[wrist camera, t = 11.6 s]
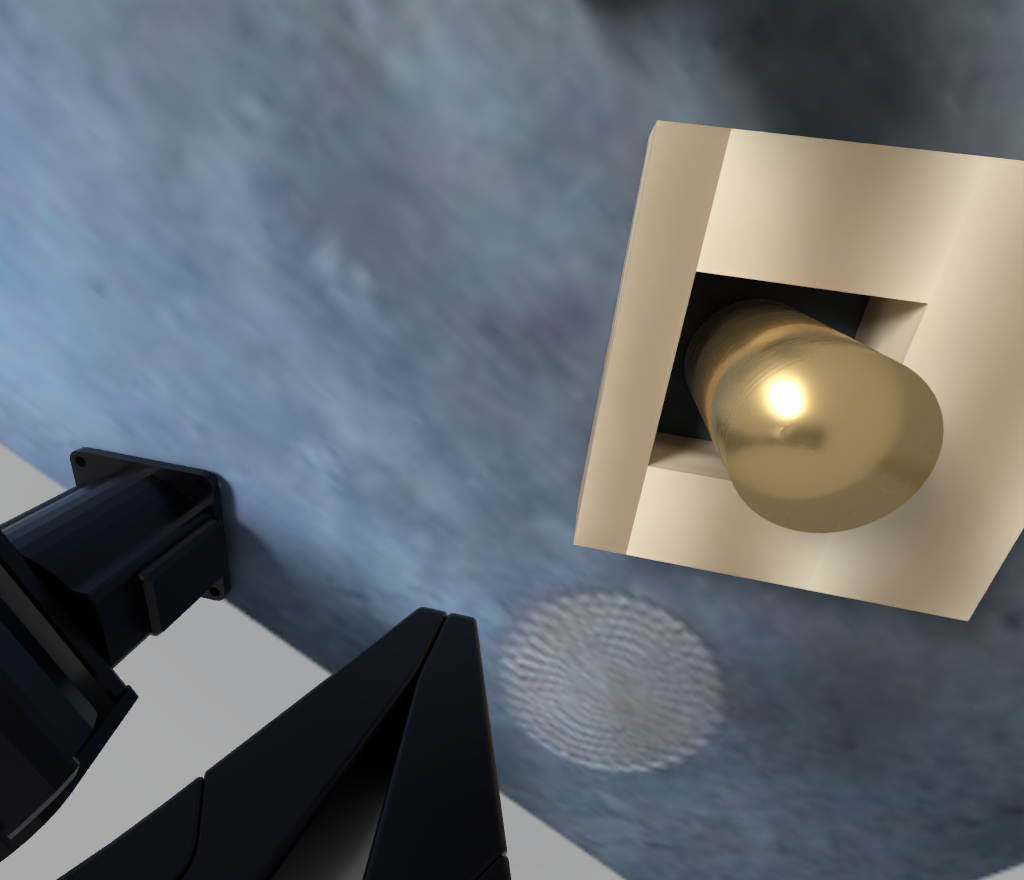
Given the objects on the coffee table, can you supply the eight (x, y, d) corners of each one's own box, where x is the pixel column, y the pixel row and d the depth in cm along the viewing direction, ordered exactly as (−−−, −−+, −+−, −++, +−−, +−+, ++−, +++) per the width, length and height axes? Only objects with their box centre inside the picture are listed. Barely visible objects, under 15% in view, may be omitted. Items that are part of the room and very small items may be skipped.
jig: (578, 499, 20) (573, 544, 17) (648, 136, 15) (657, 120, 13) (916, 562, 19) (967, 621, 16) (1108, 189, 14) (1228, 183, 11)
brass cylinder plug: (671, 410, 18) (704, 514, 12) (701, 290, 17) (759, 337, 10) (792, 430, 18) (894, 549, 12) (836, 309, 16) (981, 370, 10)
